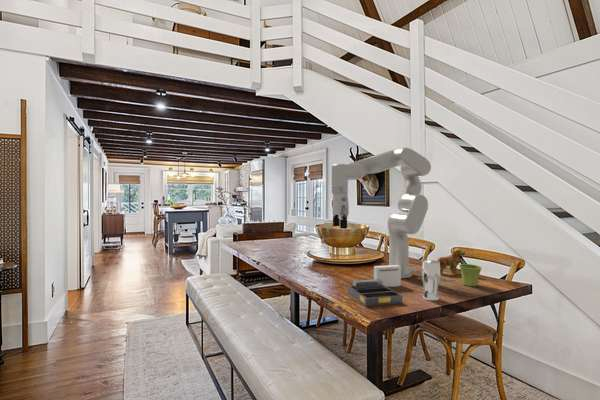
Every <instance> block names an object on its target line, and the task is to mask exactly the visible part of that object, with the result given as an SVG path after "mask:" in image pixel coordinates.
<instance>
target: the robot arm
mask: <svg viewBox="0 0 600 400" xmlns="http://www.w3.org/2000/svg"><path fill="white" fill-rule="evenodd" d="M399 166H400V172H401V175H402V177H403V180H404V185H403V189H402V192H401V194H400V196H399V199H398V202H397V209H398V211H400V212H399V213H398V212H397V213H393V214H391V215H390V216H389V217H388V219H387V229H388V236H389V238H388V239H389V240H388V241H389V242H388V246H389V247H388V251H389V252H388V253H389V254H388V265H399V266H401V279H407V278H408V279H409V278H411V277H412V272H417V271H418V269H417V267H415V266H414V267H411V266H409V256H410V255H409V252H410V251H409V249H410V247H409V246H410V245H409V244H410V243H409V241H410V240H409V236H408V235H415V234H417V233H418V232H419V231H420V229H421V228H422V225H423V223H424V220H425V217H426V215H427V211H428V209H429V201H428V199H427V197H426V196H425V195H422V194H421V192H422V183H421V179H420V178H419V177H423V176H427V175H428V174H430V172H431V171H432V165H431V162H430V160H429V159H428V158H426V157H425V156H423V155H421V154H420V153H418V152H417V151H415V150H414V149H412V148H409V147H400V148H394V149H392V150H387V151H385V152H381V153H378V154H375V155H373V156H369V157H367V158H363V159H360V160H357V161H352V162H350V163H347V164H346V163H335V164H332V166H331V194H332V207H331V208H332V209H331V210H332V226H333V227H339V229H341V230H345V229H348V216H349V214H350V209H349V208H350V207H349V196H348V194H349V181H355V180H356V181H357V180H361V179H363V178H364V177H365V175H370V174H378V173H381V172H384V171H387V170H390V169H394V168H396V167H399ZM401 212H402V213H401Z"/></svg>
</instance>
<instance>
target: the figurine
mask: <svg viewBox="0 0 600 400" xmlns="http://www.w3.org/2000/svg"><path fill="white" fill-rule="evenodd" d="M465 254H466V252H465V251H462V249H460V248H454V249H453V251H452V253H451V254H450V255H447V256H440V257H439V258H437V259H436V261H439V262H440V276H444V275H445V273H443V272H444V270H445V269H447V267H449V270H450V271H451V273H452V274H454V275H460V273H459V272H458V271H457V267H458V266H459V265H460V263H461V259H462V258H461V256H464V255H465Z"/></svg>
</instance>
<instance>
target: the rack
mask: <svg viewBox="0 0 600 400" xmlns="http://www.w3.org/2000/svg"><path fill="white" fill-rule="evenodd" d="M382 282H383V281H382V280H380V279H374V278H372V279H359V280H352V285H348V286H347V293H348V294H349V296H351V297H353V298H354V299H355V300H357V301H358V303H361V304H362V305H363V306H364V307H366V308H367V307H377V306H378V307H379V306H389V305H398V304H399V305H401V304H403V295H402V294H400V293H398V292H397V291H395V290H393V289H392V288H390V287H386V286H384V285H382Z"/></svg>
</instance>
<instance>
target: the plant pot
mask: <svg viewBox="0 0 600 400" xmlns="http://www.w3.org/2000/svg"><path fill="white" fill-rule="evenodd" d="M458 266H459V269H460V273H461V281H462V282H461V283H462V285H464V286H466V287H467V286H468V287H472V286H473V288H474V287H477V286H478V284H479V278H480V274H481V271H482V269H483V267H482V266H480V265H477V264H471V263H470V264H469V263H462V264H460V263H459V264H458Z"/></svg>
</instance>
